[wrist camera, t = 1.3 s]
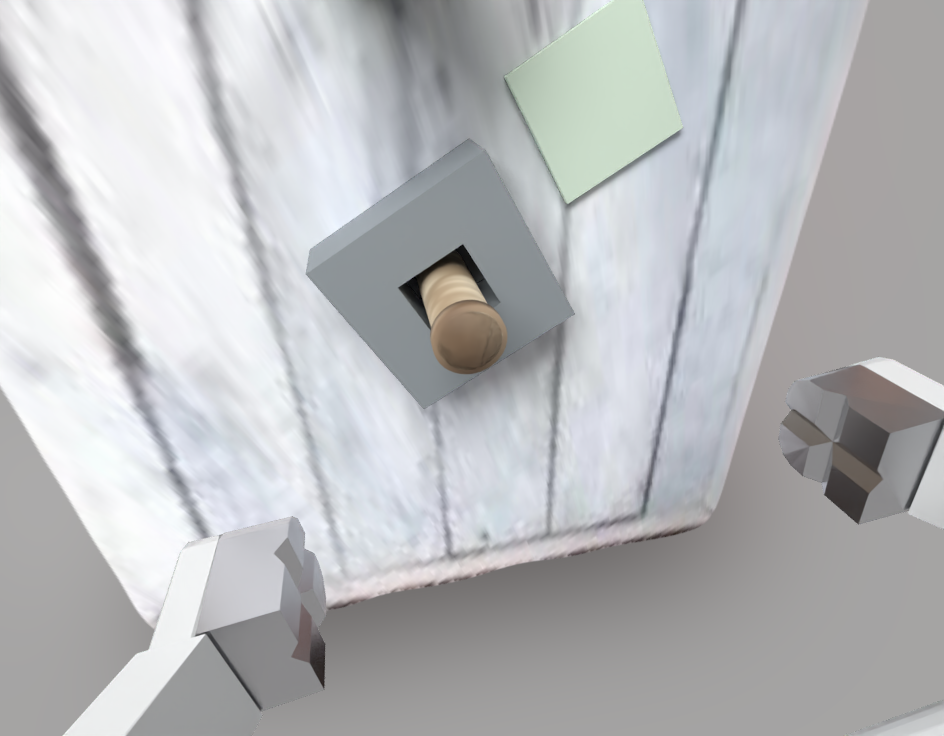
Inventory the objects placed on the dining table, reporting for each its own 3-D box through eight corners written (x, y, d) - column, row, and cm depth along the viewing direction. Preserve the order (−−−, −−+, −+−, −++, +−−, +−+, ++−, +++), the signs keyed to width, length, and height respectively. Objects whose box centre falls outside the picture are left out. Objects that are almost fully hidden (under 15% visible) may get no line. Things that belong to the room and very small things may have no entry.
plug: (448, 230, 40) (483, 291, 30) (479, 277, 42) (520, 347, 32) (399, 264, 41) (417, 335, 31) (431, 307, 43) (458, 386, 33)
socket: (469, 138, 37) (485, 150, 33) (553, 288, 44) (574, 314, 40) (309, 249, 39) (305, 274, 34) (416, 376, 46) (423, 409, 42)
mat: (633, -16, 34) (638, -16, 34) (678, 126, 39) (683, 127, 39) (503, 76, 35) (506, 77, 35) (564, 202, 41) (567, 204, 40)
